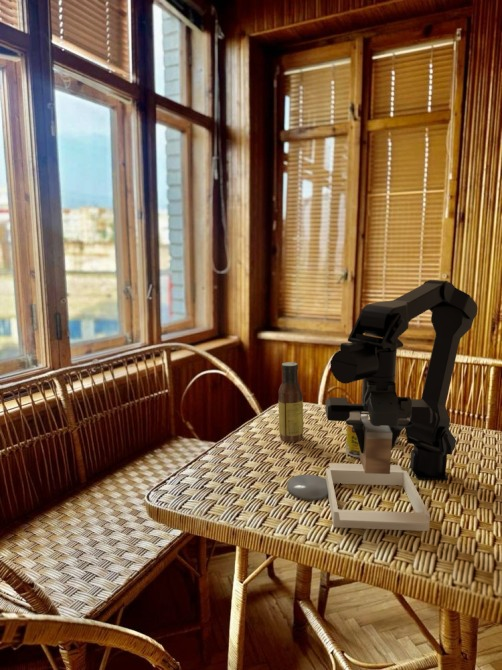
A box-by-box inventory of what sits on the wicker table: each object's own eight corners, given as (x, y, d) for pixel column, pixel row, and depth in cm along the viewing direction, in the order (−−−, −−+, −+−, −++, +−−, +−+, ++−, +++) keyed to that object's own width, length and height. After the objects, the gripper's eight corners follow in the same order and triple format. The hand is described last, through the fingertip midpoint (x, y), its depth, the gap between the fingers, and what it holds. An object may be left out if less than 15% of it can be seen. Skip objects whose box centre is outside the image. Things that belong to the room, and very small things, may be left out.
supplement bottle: (347, 458, 111) (349, 417, 109) (344, 448, 117) (345, 408, 115) (371, 458, 111) (373, 417, 109) (367, 448, 117) (369, 409, 115)
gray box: (382, 458, 93) (385, 419, 92) (389, 474, 87) (392, 432, 86) (359, 457, 94) (361, 419, 92) (365, 473, 87) (367, 432, 86)
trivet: (329, 478, 102) (329, 475, 102) (333, 501, 93) (333, 497, 93) (286, 477, 102) (287, 473, 102) (287, 499, 94) (287, 495, 94)
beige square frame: (402, 478, 102) (403, 465, 101) (433, 539, 81) (434, 523, 80) (324, 475, 103) (325, 462, 103) (334, 535, 82) (335, 519, 82)
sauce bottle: (307, 436, 124) (308, 362, 120) (296, 445, 119) (297, 368, 115) (285, 431, 127) (286, 359, 124) (273, 439, 122) (274, 364, 118)
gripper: (331, 385, 80) (328, 471, 83) (445, 387, 78) (438, 474, 81) (326, 368, 91) (323, 444, 94) (426, 369, 89) (420, 447, 92)
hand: (374, 452), depth 90 cm, fingers closed on gray box, 4 cm apart
